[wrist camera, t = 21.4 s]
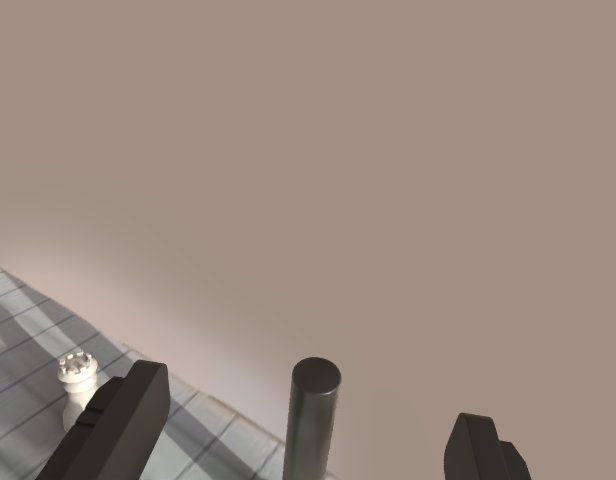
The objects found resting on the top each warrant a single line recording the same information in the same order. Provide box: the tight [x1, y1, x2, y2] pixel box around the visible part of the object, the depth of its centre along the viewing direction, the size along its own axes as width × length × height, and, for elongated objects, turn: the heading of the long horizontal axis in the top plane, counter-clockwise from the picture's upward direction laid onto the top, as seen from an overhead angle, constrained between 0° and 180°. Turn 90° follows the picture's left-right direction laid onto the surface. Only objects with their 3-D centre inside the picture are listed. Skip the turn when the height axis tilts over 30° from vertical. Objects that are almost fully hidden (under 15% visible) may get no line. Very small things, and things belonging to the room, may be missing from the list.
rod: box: [282, 357, 341, 480], centre depth 31 cm, size 4×4×18 cm
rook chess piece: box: [57, 351, 99, 433], centre depth 41 cm, size 4×4×8 cm
